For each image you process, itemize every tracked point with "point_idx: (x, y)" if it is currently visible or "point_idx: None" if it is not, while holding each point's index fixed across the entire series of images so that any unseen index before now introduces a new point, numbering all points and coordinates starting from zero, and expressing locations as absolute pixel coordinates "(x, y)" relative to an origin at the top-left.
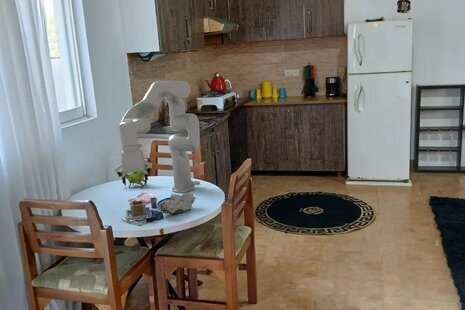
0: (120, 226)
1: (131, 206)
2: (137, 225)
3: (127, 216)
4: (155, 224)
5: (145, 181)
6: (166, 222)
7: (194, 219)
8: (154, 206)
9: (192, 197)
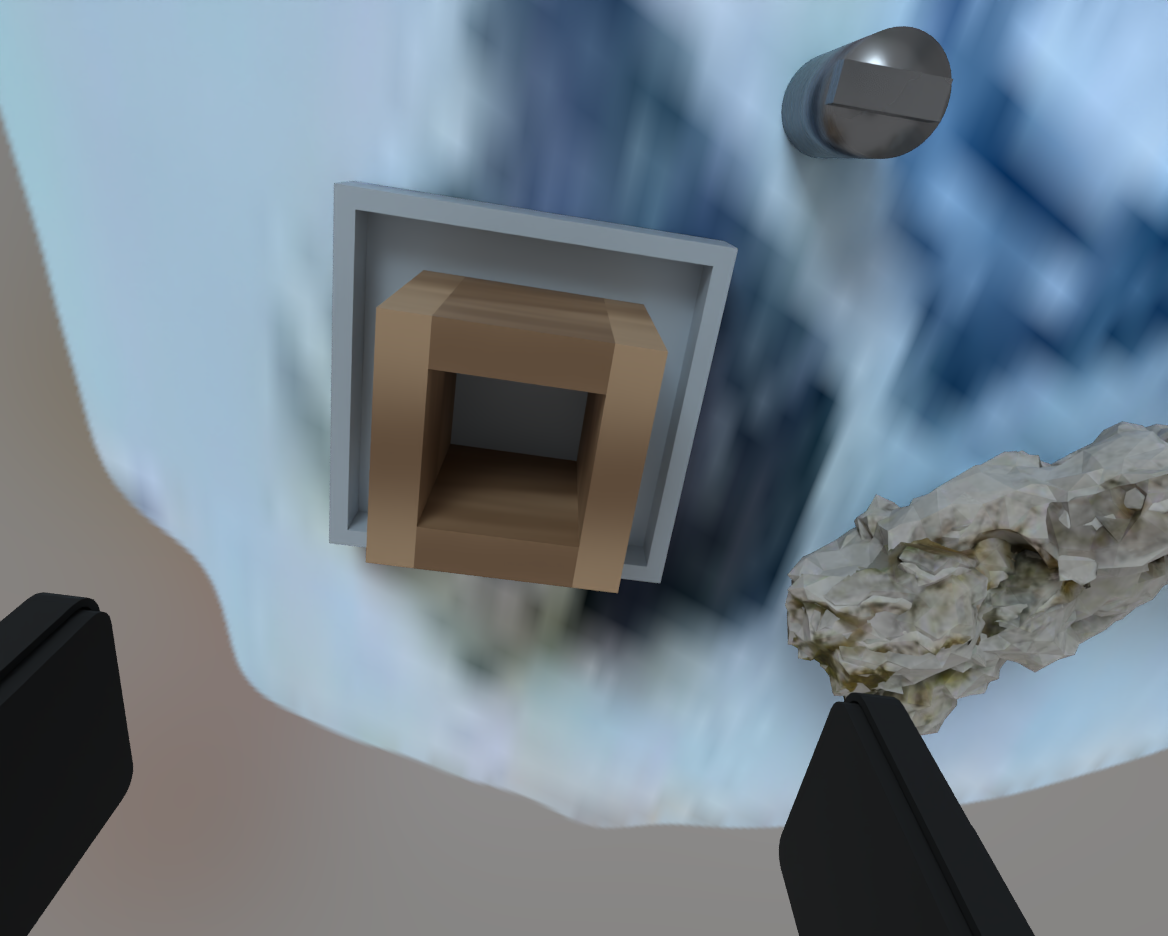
0: (267, 599)
1: (387, 564)
2: (456, 661)
3: (346, 489)
4: (637, 722)
5: (790, 885)
6: (752, 726)
7: (1011, 781)
8: (827, 157)
9: None
